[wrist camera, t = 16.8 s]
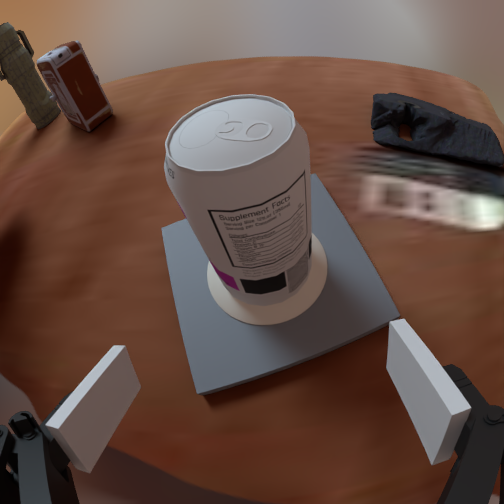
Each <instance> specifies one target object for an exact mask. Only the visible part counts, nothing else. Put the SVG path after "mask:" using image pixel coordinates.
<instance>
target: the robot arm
mask: <svg viewBox="0 0 504 504" xmlns="http://www.w3.org/2000/svg"><path fill="white" fill-rule="evenodd" d="M386 369H387V371H388V373H389V375H390V377H391V379H392V381H393V383H394V385H395V387H396V389H397V391H398V393H399V395H400V397H401V399H402V401H403V403H404V405H405V407H406V409H407V411H408V413H409V416H410V418H411V420H412V422H413V424H414V426H415V428H416V431H417V433H418V435H419V437H420V439H421V442H422V444H423V446H424V448H425V451H426V453H427V455H428V458H429V460H430V462H431V465H435V464H437V463H440V462H443V461H446V460H448V459H450V457H451V455H452V453H453V451H454V450H455V452H456V453H457V455H458V458H457V460H456V462H455V463H454V465H453V467H452V469H451V471H450V472H451V474H450V476H449V479H448V481H447V483H446V485H445V488H444V490H443V492H442V494H441V496H440V498H439V500H438V502H437V504H488V503H489V499H490V497H491V494H492V491H493V487H494V484H495V481H496V477H497V474H498V470H499V466H500V464H501V481H500V501H499V504H504V409H503V408H502V407H499V406H496V405H489V404H488V403H487V402H486V400H485V399H484V398H483V396H482V395H481V394H480V392H479V391H478V390H477V389H476V387H475V386H474V385H473V384H472V382H471V381H470V380H469V379H467V376H466V375H465V374H464V372H463V371H462V370H461V369H460V368H458V367H456V366H454V365H453V364H450V365H447V366H443V367H442V366H441V365H440V364H439V362H438V361H437V360H436V358H435V357H434V356H433V354H432V353H431V352H430V351H429V349H428V348H427V347H426V345H425V344H424V343H423V342H422V340H421V339H420V338H419V337H418V335H417V334H416V333H415V332H414V330H413V329H412V328H411V327H410V325H409V324H408V323H407V322H406V320H405V319H400V320H395V321H390V322H389V340H388V354H387V366H386ZM140 388H141V386H140V383H139V381H138V378H137V376H136V373H135V371H134V368H133V365H132V363H131V360H130V357H129V355H128V352H127V349H126V346H113V347H112V348H111V349H110V350H109V351H108V352H107V354H106V355H105V356H104V357H103V358H102V359H101V360H100V361H99V363H98V364H97V365H96V366H95V367H94V368H93V369H92V371H91V372H90V373H89V374H88V375H87V376H86V377H85V379H84V380H83V381H82V382H81V383H80V384H79V385H78V387H77V388H76V389H75V390H74V391H72V392H71V393H69V394H68V395H66V396H65V397H64V398H63V399H62V400H61V401H60V402H59V405H57V406H56V407H55V408H54V409H55V410H53V411H52V412H51V413H50V414H49V415H48V417H47V418H46V419H45V420H44V421H43V422H42V424H41V425H40V426H39V425H38V424H37V422H36V420H35V419H34V417H33V416H32V414H31V413H30V412H28V411H21V412H18V413H16V414H15V415H13V416H12V417H11V419H10V420H9V423H8V424H9V425H10V427H11V428H12V430H13V431H14V433H15V434H11V432H10V431H9V430H8V428H7V427H6V426H4V425H0V504H79V500H78V497H77V493H76V490H75V486H74V482H73V478H72V474H71V470H70V468H69V467H68V466H67V465H68V463H69V462H70V461H71V462H72V464H73V465H74V466H75V467H76V469H78V470H81V471H84V472H88V473H90V472H91V470H92V469H93V467H94V465H95V464H96V462H97V460H98V459H99V457H100V455H101V453H102V451H103V450H104V448H105V447H106V445H107V443H108V442H109V440H110V438H111V436H112V435H113V433H114V431H115V430H116V428H117V426H118V425H119V423H120V421H121V420H122V418H123V416H124V415H125V413H126V411H127V410H128V408H129V406H130V405H131V403H132V401H133V400H134V398H135V396H136V395H137V393H138V391H139V390H140ZM6 465H8V466H9V467H10V468H11V472H10V473H9V472H8V471H7V470H6Z"/></svg>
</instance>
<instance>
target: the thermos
mask: <svg viewBox="0 0 504 504" xmlns="http://www.w3.org/2000/svg"><path fill="white" fill-rule="evenodd" d="M17 34H18V35H19V36H20V38H21V40H22V41H23V43H24V46H25V48H26V49H25V48H24V47H23V45H22V44H21V43H20V41H19V37H18V35H17ZM33 54H34V51H33V49H32V48H31V45H30V44H29V41H28V39H27V37H26V35H25V33H24V32H23V31H21V30H18V31H15V30H14V27H13V26H12V25H10V24H9V23H8V22H7V23H3V24H2V25H0V66H1V71H2V73H3V75H2V73H1V71H0V80H1V81H2V80H4V79H6V80H7V82H8V83H9V84H10V85H12V87H13V88H14V90H15V92H16V93H17V95H18V97H19V98H20V100H21V101H22V103H23V105H24V106H25V108H26V113H27V115H28V116H29V118H30V119H31V121H32V122H33V123H34V124H35V125H36V127H37V129H41V128H43V127H45V126H46V125H48V124H49V123H50V122H52V121H53V120H54V119H55V118H56V117H57V116H58V115H59V113H60V111H61V110H60V108H59V107H58V105H57V102H56V101H54V102H53V101H52V99H50V97H51V96H53V95H52V93H51V92H49V91H48V90H47V89H46V87H45V85H44V83H43V82H42V80H41V78H40V76H39V75H38V73H37V71H36V69H35V64H34V62H33V60H32V57H33Z"/></svg>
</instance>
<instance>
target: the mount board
mask: <svg viewBox="0 0 504 504" xmlns="http://www.w3.org/2000/svg"><path fill="white" fill-rule="evenodd" d="M310 178H311V221H312V266H311V270H310V273H309V276H308V279H307V281H306V283H305V284H304V285H303V286H302V288H301V289H300V290H299V291H298V292H297V294H295V295H293V296H292V297H290V298H288V299H287V300H285V301H283V302H281V303H277V304H272V305H268V306H259V305H251V304H246V303H244V302H242V301H240V300H238V299H236V298H235V297H233V296H232V295H231V294H230V292H229V291H228V290H227V289H226V288H225V287H224V286H223V284H222V282H221V280H220V279H219V277H218V275H217V273H216V272H215V270H214V268H213V266H212V264H211V263H210V261H209V259H208V257H207V256H206V254H205V252H204V250H203V248H202V246H201V245H200V243H199V241H198V239H197V237H196V236H195V234H194V232H193V230H192V228H191V226H190V225H189V223H188V221H187V219H184V220H181V221H178V222H176V223H173V224H171V225H168V226H166V227H163V228H162V234H163V241H164V247H165V252H166V258H167V264H168V269H169V275H170V280H171V285H172V290H173V295H174V300H175V305H176V309H177V314H178V319H179V323H180V328H181V332H182V336H183V341H184V345H185V349H186V353H187V357H188V361H189V365H190V369H191V373H192V376H193V380H194V384H195V388H196V391H197V394H199V395H207V394H210V393H214V392H217V391H221V390H224V389H227V388H231V387H234V386H237V385H240V384H243V383H246V382H250V381H253V380H256V379H259V378H262V377H264V376H267V375H270V374H273V373H276V372H279V371H281V370H284V369H287V368H290V367H292V366H295V365H298V364H300V363H303V362H305V361H308V360H310V359H313V358H315V357H318V356H320V355H323V354H325V353H328V352H330V351H332V350H335V349H337V348H340V347H342V346H344V345H346V344H349V343H351V342H353V341H355V340H358V339H360V338H362V337H364V336H366V335H368V334H371V333H373V332H375V331H377V330H379V329H381V328H383V327H385V326H387V325H389V322H390V321H395V320H397V319H398V318H399V317H400V314H399V312H398V310H397V308H396V306H395V304H394V302H393V301H392V299H391V297H390V295H389V293H388V291H387V289H386V288H385V286H384V284H383V282H382V280H381V279H380V277H379V275H378V273H377V271H376V270H375V268H374V266H373V264H372V263H371V261H370V259H369V258H368V256H367V254H366V252H365V251H364V249H363V247H362V246H361V244H360V242H359V241H358V239H357V237H356V236H355V234H354V232H353V231H352V229H351V228H350V226H349V224H348V223H347V221H346V220H345V218H344V216H343V215H342V213H341V212H340V210H339V209H338V207H337V205H336V204H335V202H334V201H333V199H332V198H331V196H330V195H329V193H328V192H327V190H326V189H325V187H324V186H323V184H322V183H321V181H320V180H319V178H318V177H317V175H316V174H312V175H310Z"/></svg>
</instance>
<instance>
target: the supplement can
mask: <svg viewBox="0 0 504 504" xmlns="http://www.w3.org/2000/svg"><path fill="white" fill-rule="evenodd" d="M165 147H166V157H165V164H164V170H165V175H166V180H167V183H168V185H169V187H170V189H171V191H172V193H173V195H174V197H175V198H176V200H177V202H178V204H179V206H180V208H181V210H182V212H183V213H184V215H185V217H186V219H187V221H188V223H189V225H190V226H191V228H192V230H193V232H194V234H195V236H196V237H197V239H198V241H199V243H200V245H201V246H202V248H203V250H204V252H205V254H206V256H207V257H208V259H209V261H210V263H211V264H212V266H213V268H214V270H215V272H216V273H217V275H218V277H219V279H220V280H221V282H222V284H223V286H224V287H225V288H226V289H227V290H228V291H229V292H230V294H231V295H232V296H233V297H235V298H236V299H238V300H240V301H242V302H244V303H246V304H251V305H259V306H268V305H272V304H277V303H281V302H283V301H285V300H287V299H288V298H290V297H292V296H293V295H295V294H297V292H298V291H299V290H300V289H301V288H302V286H303V285H304V284H305V283H306V281H307V279H308V276H309V273H310V270H311V266H312V221H311V178H310V153H309V144H308V139H307V134H306V132H305V131H304V129H303V128H302V127H301V126H300V124H299V123H298V122H297V121H296V119H295V118H294V114H293V112H292V111H291V110H290V109H289V108H288V107H287V106H286V104H285V103H283V102H281V101H278V100H276V99H274V98H271V97H268V96H261V95H254V94H247V95H232V96H228V97H224V98H220V99H216V100H212V101H210V102H208V103H206V104H203V105H201V106H199V107H197V108H195V109H193V110H192V111H190V112H189V113H187V114H186V115H185V116H183V117H182V118H180V119H179V121H178V122H177V123H176V124H175V125H174V126H173V128H172V129H171V130H170V131H169V134H168V137H167V139H166V142H165Z"/></svg>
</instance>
